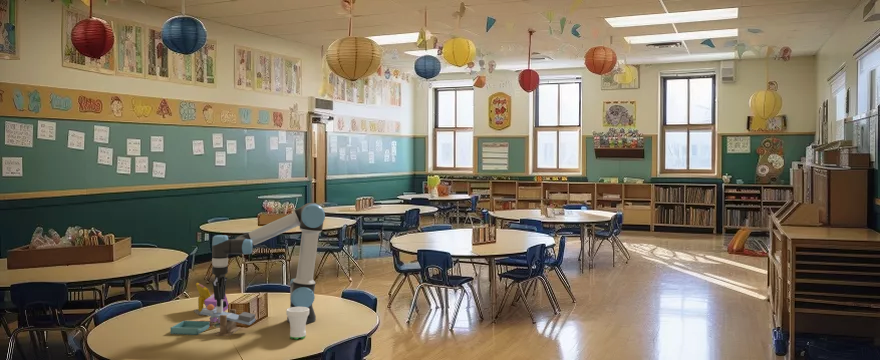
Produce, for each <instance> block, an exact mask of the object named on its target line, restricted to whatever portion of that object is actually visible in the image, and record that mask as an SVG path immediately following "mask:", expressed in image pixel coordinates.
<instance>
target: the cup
mask: <svg viewBox="0 0 880 360" xmlns="http://www.w3.org/2000/svg"><path fill="white" fill-rule="evenodd" d="M285 314H286V317H287V316H288V319H289V322H290V323H289V322H288V323H289V327H290V330H289V331H290V332H289V336H290V339H291V340H293V339H294V340H299V339H301V340H304V339H305V337H306V336H307V331H306V325H307V323H306V321H307V317H308V315H309V308H307V307H291V308H290V307H288V308H286V310H285ZM303 338H304V339H303Z"/></svg>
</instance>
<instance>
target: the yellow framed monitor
mask: <svg viewBox="0 0 880 360" xmlns="http://www.w3.org/2000/svg"><path fill="white" fill-rule="evenodd" d="M195 287H196V289H197V291H198V295H199V296H198V300H197V302H198V307H197V309H194V310H193V312H194V313H195V314H196V315H198V316H204V315H203V314H200V312H201V311H202V309H206V307H204V305H205V303H204V300H206V299H207V298H209V297H210V296H211V293H210V291H209V288H207V287H206V286H204V285H203V284H201V283H199V282H196V283H195Z"/></svg>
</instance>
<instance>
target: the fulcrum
mask: <svg viewBox="0 0 880 360" xmlns="http://www.w3.org/2000/svg"><path fill="white" fill-rule="evenodd" d="M229 313H234V314H237V309H235V308H230V309H229ZM240 330H241V326H237V322H234V321H229V320H227V315H220V324H219V331H218V332H216V334H215V336H217V337H219V336H222V337H223V336H224V337H230V336H231V335H233V334H235V333H236V332H238V331H240Z"/></svg>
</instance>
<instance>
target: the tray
mask: <svg viewBox="0 0 880 360" xmlns="http://www.w3.org/2000/svg"><path fill="white" fill-rule="evenodd" d="M210 324H211V322H210V320H209V321H208V320H207V321H205V320H202V321H201V320H182V321H180V322H179V323H176V324H175V325H173V326H171V327H170V328H169V329H170V335H188V336H189V335H190V336H191V335H192V336H198V335H200V334H202V333H203V332H205V331H207V330H209V327H210V326H211V325H210ZM210 328H211V327H210Z"/></svg>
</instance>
